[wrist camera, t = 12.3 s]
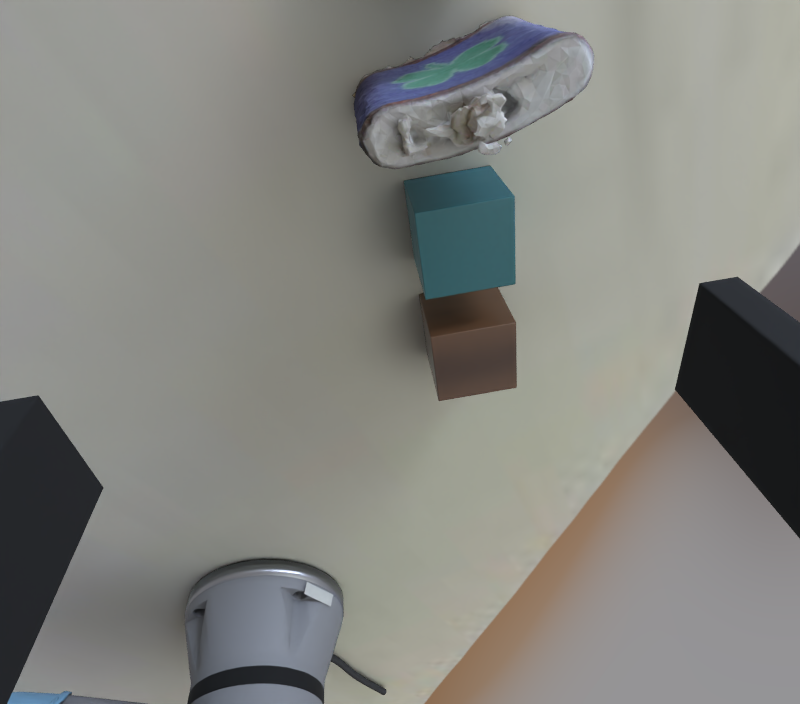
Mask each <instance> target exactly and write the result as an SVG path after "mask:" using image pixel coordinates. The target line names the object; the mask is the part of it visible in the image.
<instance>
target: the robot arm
mask: <svg viewBox="0 0 800 704" xmlns="http://www.w3.org/2000/svg"><path fill="white" fill-rule="evenodd" d="M675 390H676V391H677V392H678V394H679V395H680V396H681V397H682V398H683V400H684V401H685V402H686V403H687V404H688V406H689V407H691V409H692V410H693V412H694V413H695V414H696V415H697V416H698V418H699V419H700V420H701V421H702V422H703V423H704V425H705V426H706V427H707V428H708V429H709V431H710V432H711V433H712V434H713V435H714V437H715V438H716V439H717V440H718V441H719V443H720V444H721V445H722V446H723V447H724V448H725V450H726V451H727V452H728V453H729V455H730V456H731V457H732V458H733V459H734V460H735V461H736V463H737V464H738V465H739V466H740V468H741V469H742V470H743V471H744V472H745V473H746V475H747V476H748V477H749V478H750V479H751V481H752V482H753V483H754V484H755V485H756V487H757V488H758V489H759V490H760V491H761V493H762V494H763V495H764V496H765V497H766V499H767V500H768V501H769V502H770V503H771V505H772V506H773V507H774V508H775V509H776V511H777V512H778V513H779V514H780V515H781V517H782V518H783V519H784V520H785V521H786V523H787V524H788V525H789V526H790V527H791V528H792V530H793V531H794V532H795V533H796V534H797V536H798V537H799V538H800V323H799V322H798V321H796V320H795V319H794V318H793V317H791V316H790V315H789V314H787V313H786V312H785V311H783V310H782V309H781V308H779V307H778V306H776V305H775V304H774V303H772V302H771V301H770V300H768V299H767V298H766V297H764V296H763V295H761V294H760V293H759V292H757V291H756V290H755V289H753V288H752V287H751V286H749V285H748V284H746V283H745V282H744V281H742V280H741V279H740V278H738V277H734V278H728V279H722V280H716V281H710V282H704V283H699V288H698V292H697V296H696V301H695V305H694V309H693V314H692V318H691V322H690V327H689V331H688V335H687V340H686V344H685V348H684V353H683V357H682V361H681V366H680V370H679V374H678V379H677V383H676V387H675ZM102 490H103V486H102V485H101V484H100V482H99V481H98V479H97V478H96V477H95V475H94V474H93V472H92V471H91V469H90V468H89V467H88V465H87V464H86V462H85V461H84V459H83V458H82V457H81V455H80V454H79V452H78V451H77V450H76V448H75V447H74V445H73V444H72V442H71V441H70V440H69V438H68V437H67V435H66V434H65V432H64V431H63V430H62V428H61V427H60V425H59V424H58V423H57V421H56V420H55V418H54V417H53V415H52V414H51V413H50V411H49V410H48V408H47V407H46V405H45V404H44V403H43V401H42V400H41V398H40V397H39V396H32V397H26V398H20V399H14V400H8V401H2V402H0V704H146V703H137V702H128V701H119V700H110V699H101V698H92V697H83V696H74V695H71V694H72V692H69V691H64V692H62V693H61V694H52V693H34V692H13V690H14V687H15V685H16V683H17V681H18V678H19V676H20V674H21V672H22V669H23V667H24V665H25V663H26V660H27V658H28V656H29V654H30V651H31V649H32V647H33V645H34V642H35V640H36V638H37V636H38V633H39V631H40V629H41V627H42V624H43V622H44V620H45V618H46V615H47V613H48V611H49V609H50V606H51V604H52V602H53V600H54V597H55V595H56V593H57V591H58V588H59V586H60V584H61V582H62V579H63V577H64V575H65V573H66V570H67V568H68V566H69V564H70V561H71V559H72V557H73V555H74V553H75V550H76V548H77V546H78V544H79V541H80V539H81V537H82V535H83V532H84V530H85V528H86V526H87V523H88V521H89V519H90V517H91V514H92V512H93V510H94V508H95V505H96V503H97V501H98V499H99V496H100V494H101V492H102ZM343 613H344V612H343V594H342V590H341V588H340V587H339V585H338V584H337V583H336V582H335V580H334V579H332V578H331V577H330V576H329V575H327V574H326V573H324V572H322V571H320V570H318V569H316V568H313V567H310V566H308V565H304V564H300V563H296V562H290V561H283V560H255V561H247V562H241V563H236V564H232V565H229V566H226V567H223V568H220V569H218V570H216V571H214V572H212V573H210V574H208V575H207V576H205V577H204V578H202V579H201V580H200V581H199V582H198V583H197V584H196V585H195V586H194V587H193V589H192V591H191V592H190V595H189V599H188V603H187V607H186V612H185V632H186V641H187V650H188V660H189V669H190V679H191V687H190V693H189V698H188V703H187V704H324V683H325V678H326V675H327V671H328V668H329V665H330V661H331V662H333V663H335V664H336V665H338V666H339V667H340V668H342V669H343V670H344V671H345V672H346V673H347V674H349V675H350V676H351V677H353V678H354V679H356V680H357V681H359V682H360V683H362V684H364V685H366V686H367V687H369V688H371V689H373V690H375V691H377V692H379V693H380V694H382V695H385V694H386V689H385V688H383V687H381V686H379V685H377V684H376V683H374V682H372V681H370V680H368V679H366V678H365V677H363V676H361V675H360V674H358V673H357V672H355V671H354V670H353V669H352V668H351V667H349V666H348V665H347V664H346V663H345V662H344V661H342V660H341V659H340V658H338V657H337V656H335V655H333V652H334V648H335V645H336V642H337V638H338V635H339V632H340V629H341V625H342V620H343ZM12 692H13V693H12Z"/></svg>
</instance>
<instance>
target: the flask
mask: <svg viewBox="0 0 800 704" xmlns="http://www.w3.org/2000/svg"><path fill="white" fill-rule="evenodd" d="M479 27H480V28H479V29H478V30H476V31H475V32H474V33H471V34H468V35H465V36H464V37H459V38H457V39H455V38H452V39H450V40H448V41H443V40H442V42H441V43H440V44H438V45H435V46H433V47H432V49H430V52H427V54H426V55H425V56H424V57H423V58H420V59H416V60H415V59H413V58H412V57H411V56H410V58H409V60H407V61H406V62H405V63H404V64H403V65H401V66H398V67H389V66H388V67H387V68H385V69H382V70H377V71H375V72H373V73H371V74H367V75H365V76H364V77H363V78H362V80H361V81H360V83H359V85H358V86H357V89H356V92H355V93H354V94H353V95H352V96H353V97H354V98H355V101H354V110H355V117H356V120H357V121H356V123H357V131H358V135H357V136H358V138H359V145H360V147H361V148H362V149H363V151H364V152H365V154H366V155H367V156H368V157H369V158H370V159H371V160H372V162H373V163H374V164H376V165H378V166H380V167H384V168H390V169H399V168H405V167H410V166H413V165H421V164H425V163H429V162H433V161H438V160H443V159H448V158H451V157H455V156H459V155H463V154H465V153H467V152H470V151H472V150H476V149H478V151H479V152H480V153H482V154H484V155H489V154H497V153H499V151H500V149H501V147H502V146H501V145H499V144H498V143H497V142H496V141H498V140H500V139H502V138H505V137H508V136H510V135H511V134H513V133H515V132H517V131H519V130H521V129H522V128H524V127H526V126H528V125H530V124H532V123H534V122H535V121H537V120H538V119H540V118H542V117H544V116H546V115H548V114H550V113H552V112H553V111H555V110H557V109H558V108H560V107H561V106H562V105H564V104H565V103H567V102H569V101H571V100H573V98H574V97H575V96H576V95H577V94H579V93H580V92H581V91H582V90H583V89H584V88H585V87H586V86H587V84H588V82H589V80H590V78H591V76H592V72H593V65H594V53H593V50H592V48H591V46H590V45H589V43H588V42H587V40H586V39H585V38H584V37H583V36H581V35H579V34H577V33H571V32H562V31H558V30H556V29H553V28H546V27H543V26H542V25H535V24H532V23H530V22H527V21H525V20H523V19H521V18H517V17H515V16H507V17H502V18H499V19H496V20H494V21H490V22H485V23H484V24H481V25H479ZM493 142H494V143H493ZM504 142H505V145H509V144H510V143H511V142H512V138H509V137H508V138H507V139H506V140H505V141H504Z"/></svg>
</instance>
